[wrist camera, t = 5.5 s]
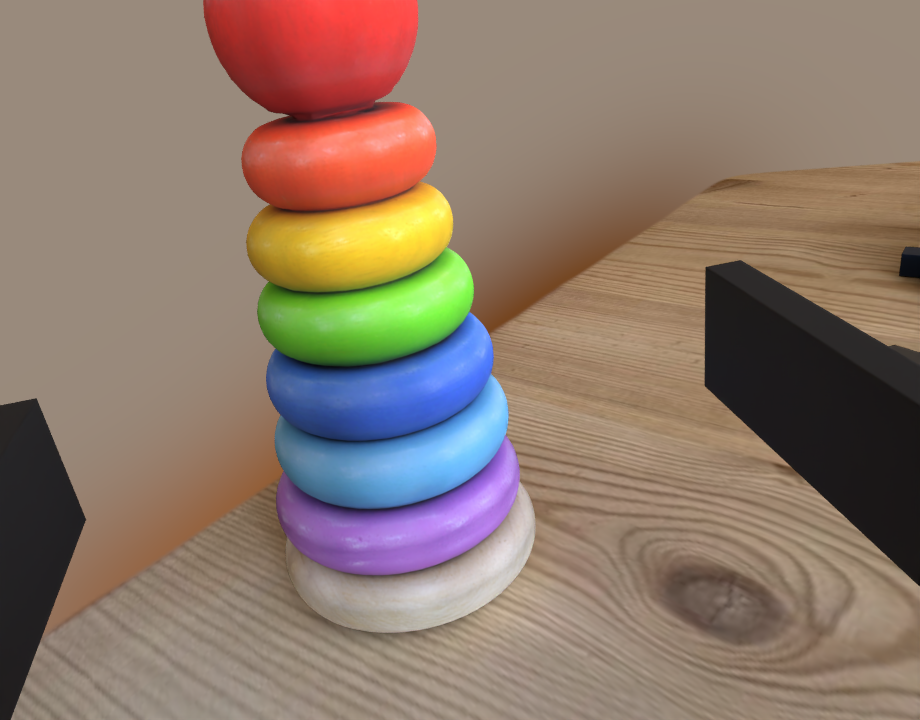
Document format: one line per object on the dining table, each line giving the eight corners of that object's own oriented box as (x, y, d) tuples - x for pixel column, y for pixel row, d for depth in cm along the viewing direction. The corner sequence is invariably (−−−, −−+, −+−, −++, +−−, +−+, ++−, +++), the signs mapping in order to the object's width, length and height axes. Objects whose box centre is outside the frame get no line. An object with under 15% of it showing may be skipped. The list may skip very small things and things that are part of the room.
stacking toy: (591, 548, 25) (543, -147, 17) (382, 697, 21) (187, -131, 13) (438, 458, 31) (347, -93, 23) (251, 561, 27) (58, -69, 19)
